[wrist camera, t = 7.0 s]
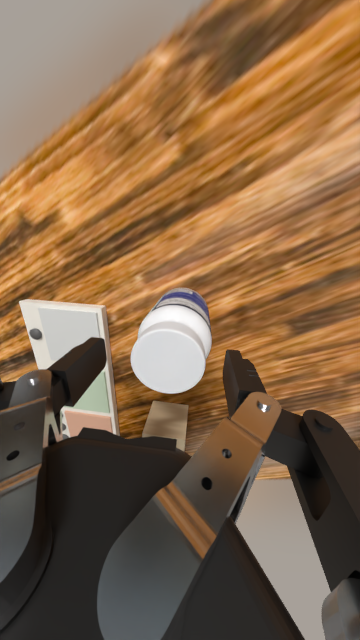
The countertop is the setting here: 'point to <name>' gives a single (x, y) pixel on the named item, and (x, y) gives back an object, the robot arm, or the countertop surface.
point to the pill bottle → (173, 342)
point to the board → (58, 339)
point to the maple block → (167, 422)
